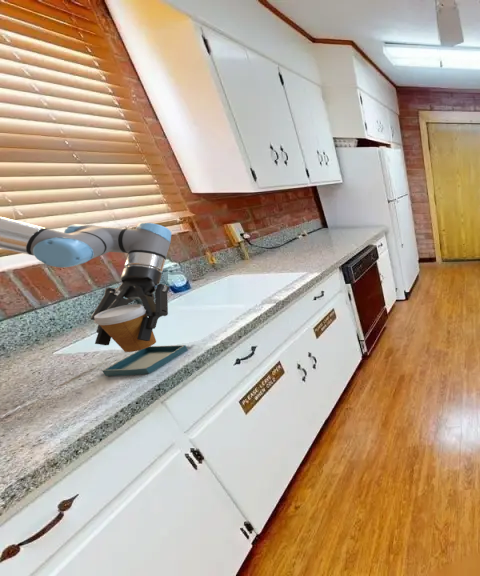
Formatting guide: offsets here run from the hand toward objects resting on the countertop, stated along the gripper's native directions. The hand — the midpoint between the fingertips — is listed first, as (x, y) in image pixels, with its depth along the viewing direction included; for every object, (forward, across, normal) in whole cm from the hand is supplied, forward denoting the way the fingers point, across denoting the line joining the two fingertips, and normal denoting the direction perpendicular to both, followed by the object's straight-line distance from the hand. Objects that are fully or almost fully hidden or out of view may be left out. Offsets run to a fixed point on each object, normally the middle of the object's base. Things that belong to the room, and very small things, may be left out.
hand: (123, 342), depth 83 cm
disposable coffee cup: (0, 0, -5) cm, 5 cm away
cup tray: (+4, 0, -9) cm, 10 cm away
